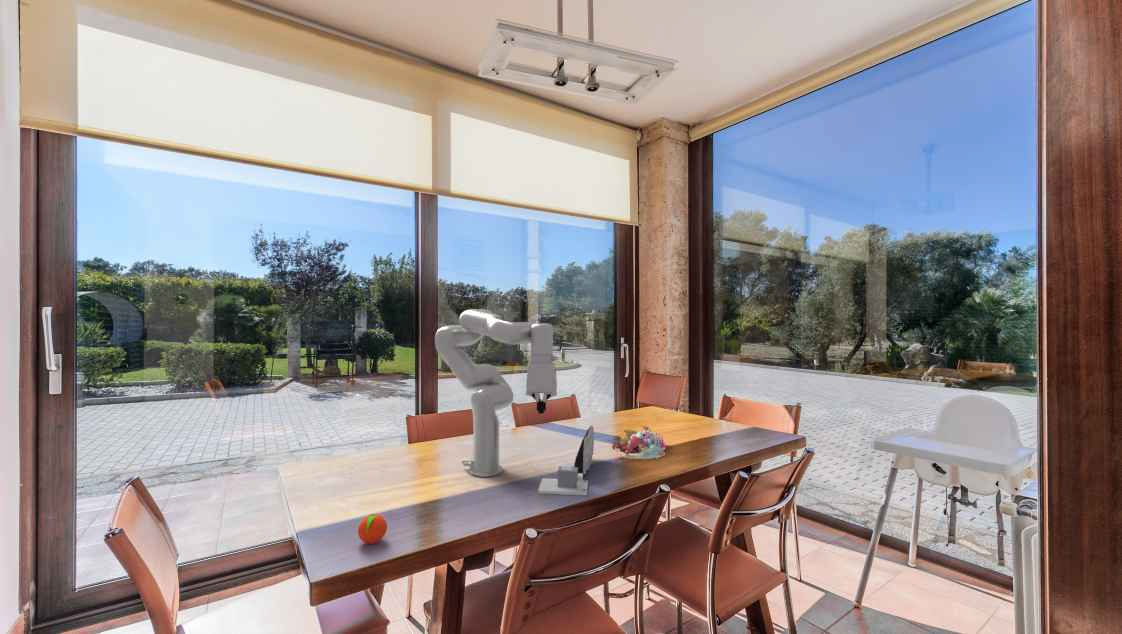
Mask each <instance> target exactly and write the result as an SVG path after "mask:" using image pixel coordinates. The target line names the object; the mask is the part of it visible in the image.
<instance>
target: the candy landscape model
mask: <svg viewBox="0 0 1122 634" xmlns="http://www.w3.org/2000/svg"><path fill="white" fill-rule="evenodd" d="M623 433H624V435H625V437H624V436H622V437H620V438H619V439H618V440H617V441H615V442H614V443H613V444H612V446H611V448H612V449H614V450H615V451H616V452H617V453H618V454H619V455H620V456H621V457H623V458H626V459H632V460H654V459H653V458H656V459H660V458H659V457H661V456H663V457H665V456H666V453H665V450H666V449H667V446H665V445H666V443H665V442H664V438H663V437H664V436H663V434H661V433H660V432H658V431H656V433H654V432H653V431H652V428H650V427H649V426H648V425H643V426H642V429H641V430H640V431H637V430H635V429H634V430H633V429H629V428H626V429H624V430H623ZM664 455H665V456H664ZM661 458H662V457H661Z"/></svg>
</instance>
